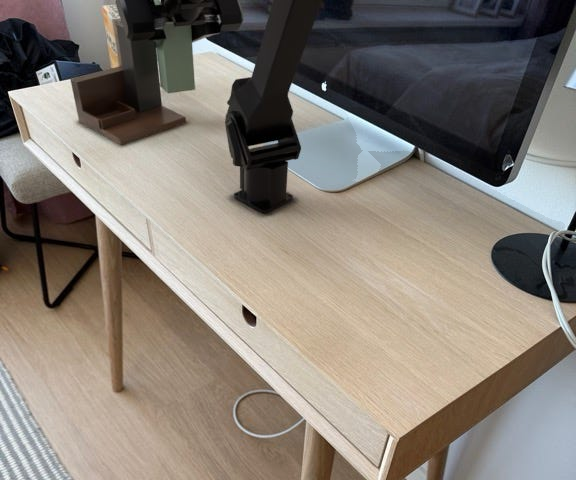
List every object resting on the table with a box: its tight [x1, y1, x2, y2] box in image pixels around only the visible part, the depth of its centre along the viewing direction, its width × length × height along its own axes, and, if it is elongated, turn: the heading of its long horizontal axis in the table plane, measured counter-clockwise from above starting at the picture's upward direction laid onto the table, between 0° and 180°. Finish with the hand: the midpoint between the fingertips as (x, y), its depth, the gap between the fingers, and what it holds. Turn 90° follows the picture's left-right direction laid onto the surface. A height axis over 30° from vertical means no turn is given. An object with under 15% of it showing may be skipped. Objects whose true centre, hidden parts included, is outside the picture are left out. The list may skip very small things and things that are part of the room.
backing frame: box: [69, 23, 187, 146], centre depth 95 cm, size 12×14×14 cm
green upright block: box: [154, 0, 196, 94], centre depth 93 cm, size 4×5×13 cm
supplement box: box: [101, 4, 122, 69], centre depth 106 cm, size 8×5×13 cm, turn 25°
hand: (171, 43), depth 94 cm, fingers closed on green upright block, 5 cm apart
